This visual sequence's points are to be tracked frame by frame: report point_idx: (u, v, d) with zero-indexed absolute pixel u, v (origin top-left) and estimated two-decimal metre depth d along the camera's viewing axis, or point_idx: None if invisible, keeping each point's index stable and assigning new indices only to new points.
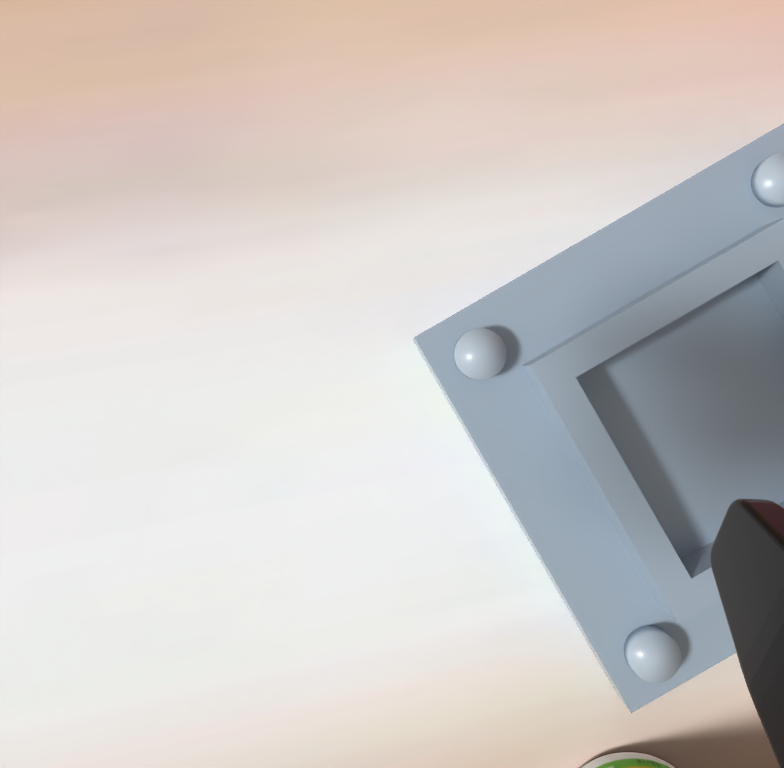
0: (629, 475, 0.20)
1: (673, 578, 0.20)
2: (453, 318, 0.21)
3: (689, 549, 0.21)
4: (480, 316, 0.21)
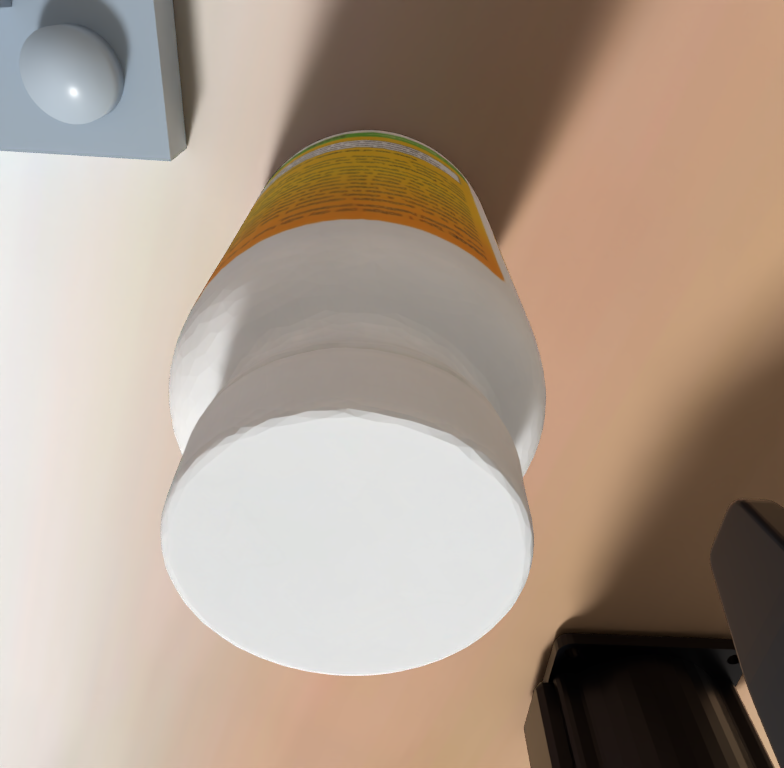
0: None
1: None
2: None
3: None
4: None
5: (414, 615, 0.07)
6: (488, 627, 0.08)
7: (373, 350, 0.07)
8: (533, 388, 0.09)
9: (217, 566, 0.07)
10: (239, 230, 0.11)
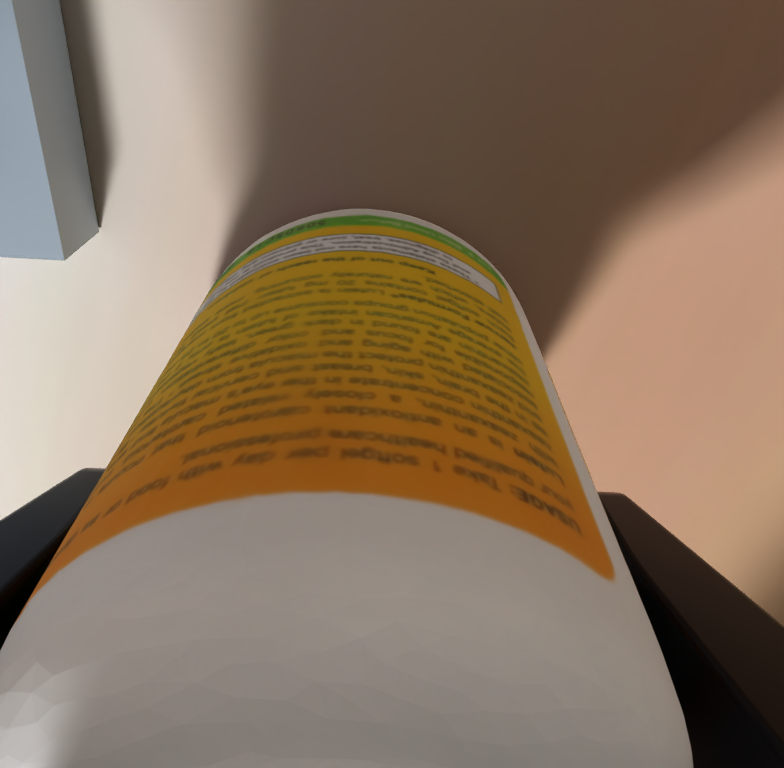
0: None
1: None
2: None
3: None
4: None
5: None
6: None
7: None
8: None
9: None
10: (144, 403, 0.07)
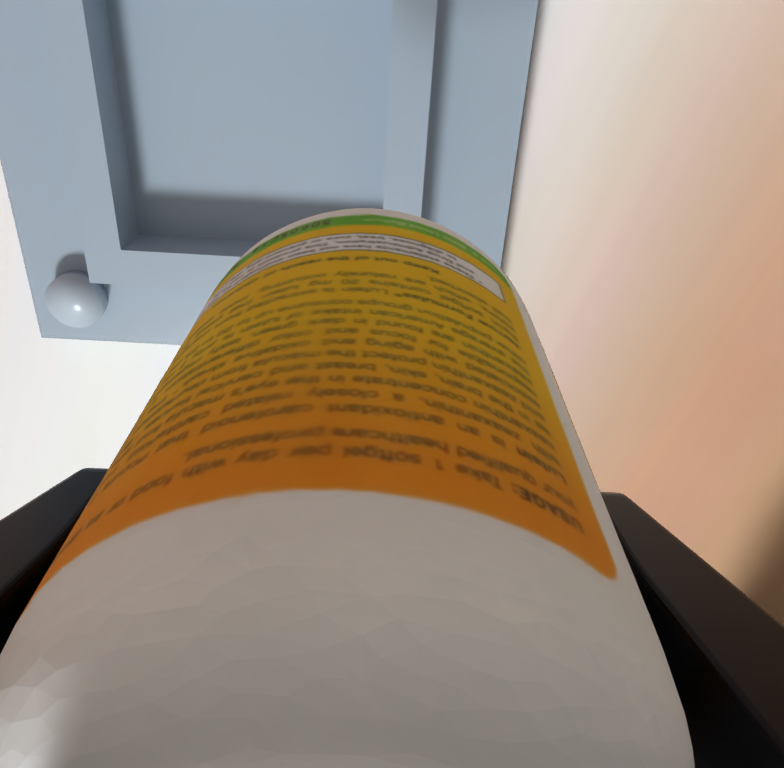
0: None
1: None
2: (35, 296, 0.20)
3: None
4: (42, 272, 0.20)
5: None
6: None
7: None
8: None
9: None
10: (149, 401, 0.07)
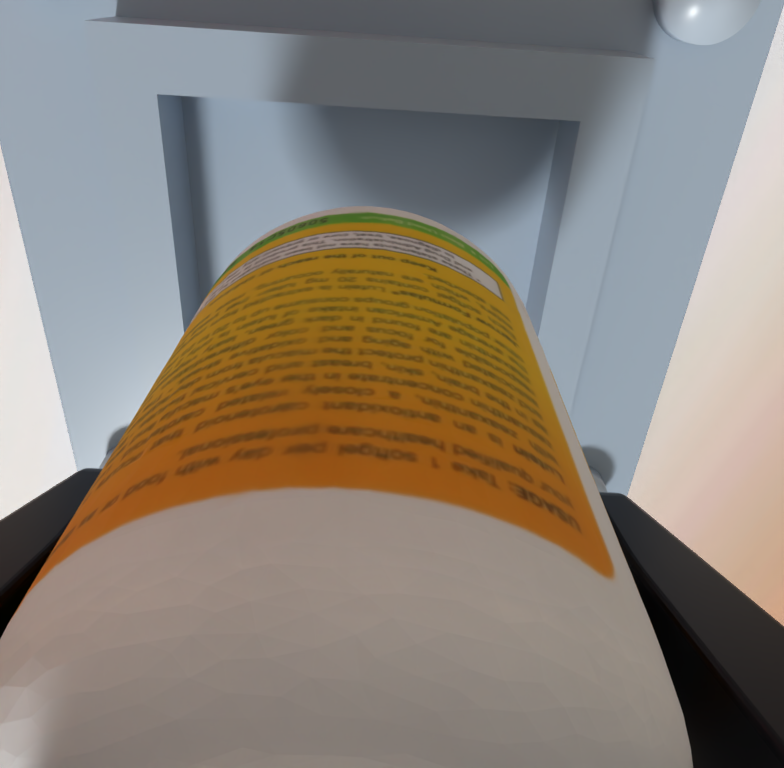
0: None
1: None
2: (81, 469, 0.17)
3: None
4: (91, 445, 0.16)
5: None
6: None
7: None
8: None
9: None
10: None
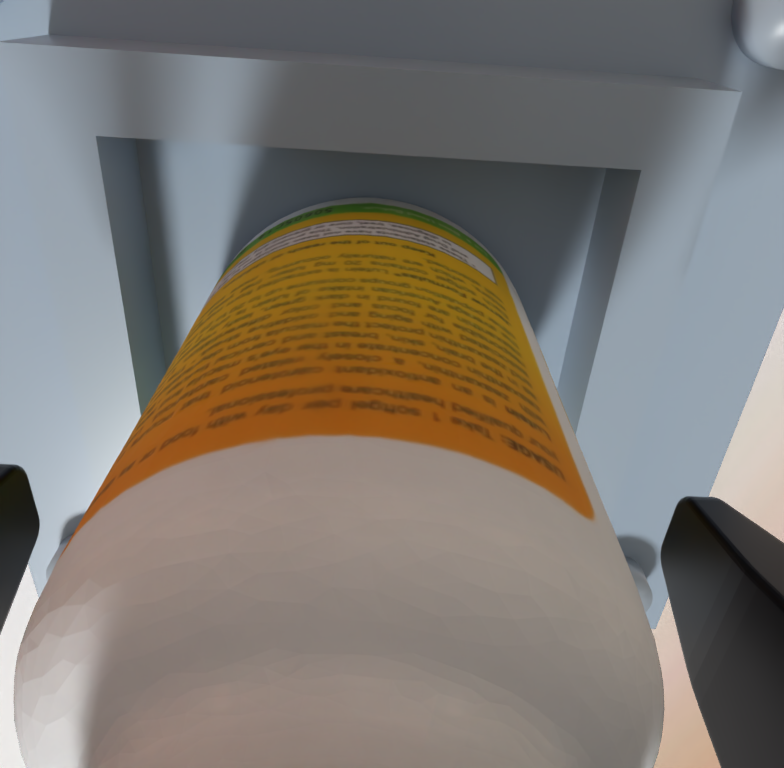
0: None
1: None
2: (32, 559, 0.14)
3: None
4: (42, 533, 0.14)
5: None
6: None
7: None
8: (652, 724, 0.05)
9: None
10: (166, 373, 0.07)
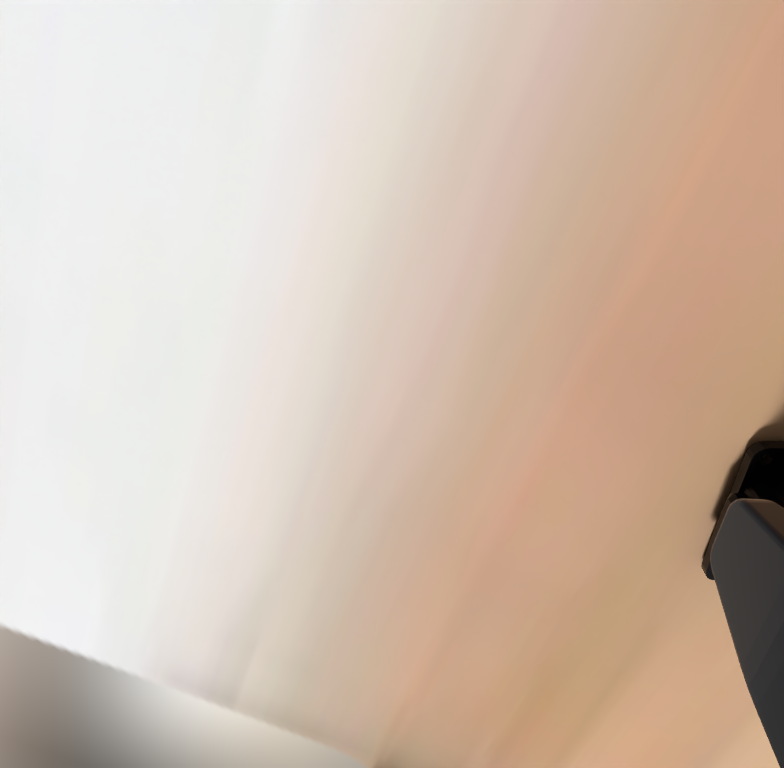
0: None
1: None
2: None
3: None
4: None
5: None
6: None
7: None
8: None
9: None
10: None
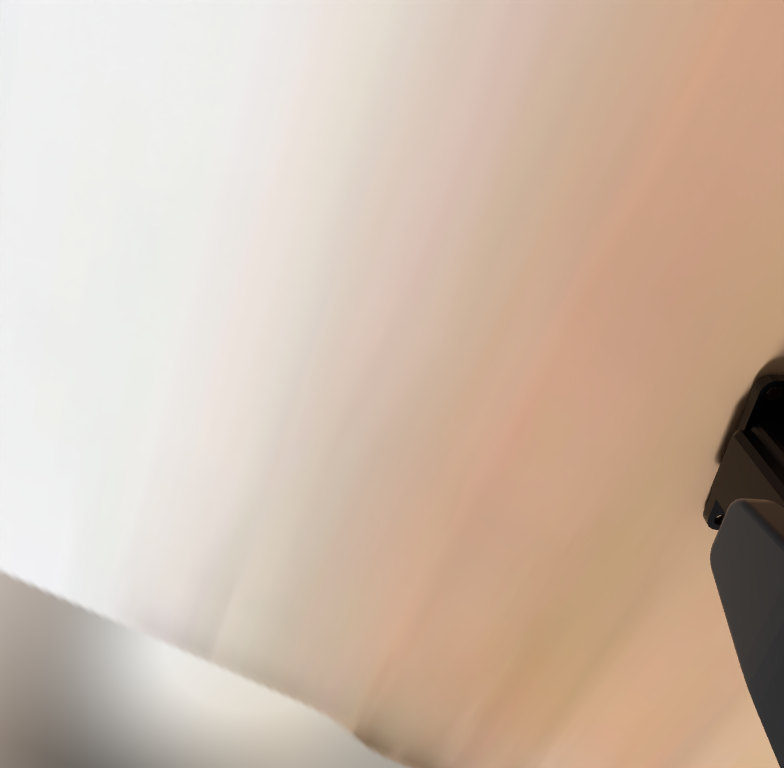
0: None
1: None
2: None
3: None
4: None
5: None
6: None
7: None
8: None
9: None
10: None
